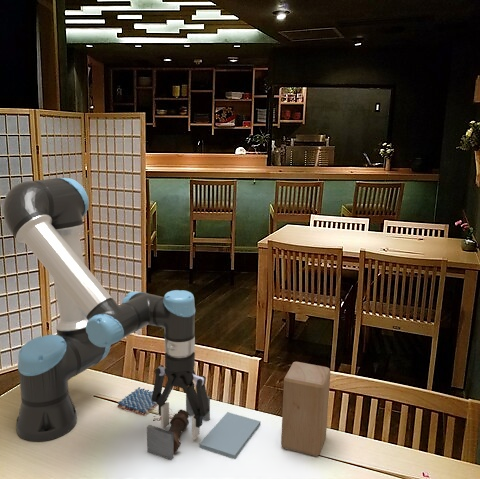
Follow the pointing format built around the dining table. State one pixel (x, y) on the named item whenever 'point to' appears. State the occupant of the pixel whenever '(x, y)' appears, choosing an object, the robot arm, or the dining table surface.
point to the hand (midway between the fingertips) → (180, 431)
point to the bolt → (178, 426)
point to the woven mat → (138, 402)
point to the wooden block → (305, 408)
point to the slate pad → (230, 435)
